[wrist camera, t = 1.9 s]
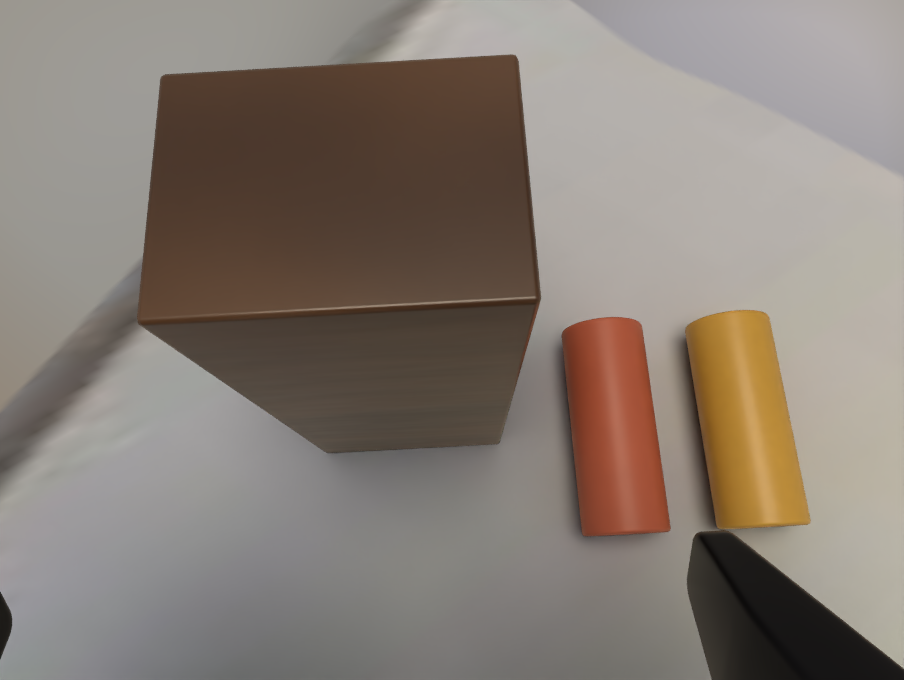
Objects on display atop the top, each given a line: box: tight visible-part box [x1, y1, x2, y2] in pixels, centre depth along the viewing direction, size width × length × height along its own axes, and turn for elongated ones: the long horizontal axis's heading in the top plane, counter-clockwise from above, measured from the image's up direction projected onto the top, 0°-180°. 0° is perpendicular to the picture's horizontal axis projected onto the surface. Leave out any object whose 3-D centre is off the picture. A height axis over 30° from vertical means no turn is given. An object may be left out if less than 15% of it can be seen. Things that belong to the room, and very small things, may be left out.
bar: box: [137, 55, 541, 453], centre depth 15 cm, size 4×5×12 cm
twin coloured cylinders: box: [562, 310, 811, 536], centre depth 19 cm, size 6×6×2 cm
